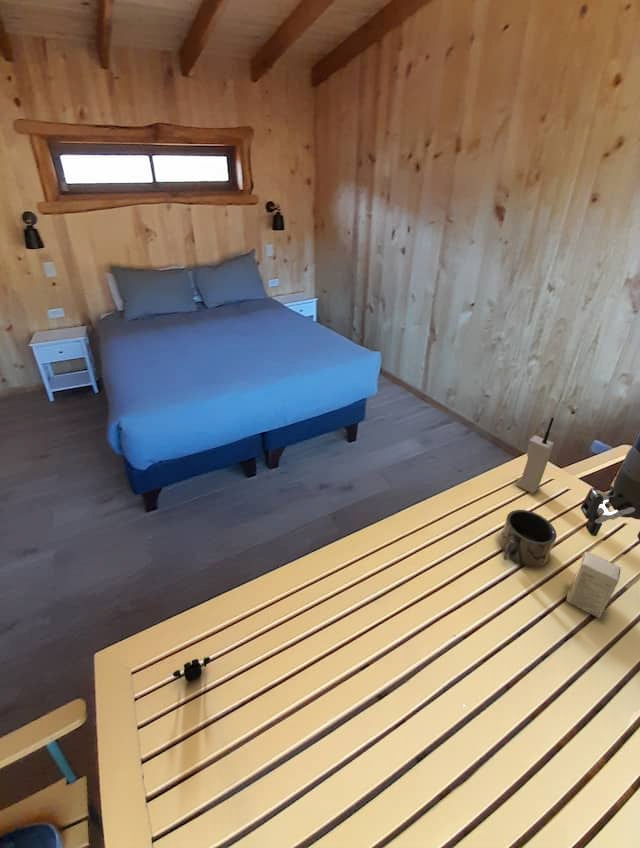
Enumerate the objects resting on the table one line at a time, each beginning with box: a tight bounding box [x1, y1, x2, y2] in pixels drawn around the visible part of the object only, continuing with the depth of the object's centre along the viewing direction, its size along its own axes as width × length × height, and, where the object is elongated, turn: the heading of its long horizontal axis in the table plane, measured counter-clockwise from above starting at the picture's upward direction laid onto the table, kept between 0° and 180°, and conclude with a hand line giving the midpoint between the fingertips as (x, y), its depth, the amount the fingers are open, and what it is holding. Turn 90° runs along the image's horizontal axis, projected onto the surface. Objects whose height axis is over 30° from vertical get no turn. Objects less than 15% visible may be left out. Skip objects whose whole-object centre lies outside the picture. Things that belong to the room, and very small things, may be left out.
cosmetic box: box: [566, 551, 621, 619], centre depth 85 cm, size 6×4×12 cm
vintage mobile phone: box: [515, 417, 555, 494], centre depth 114 cm, size 4×5×25 cm
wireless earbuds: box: [172, 656, 211, 682], centre depth 75 cm, size 7×2×5 cm, turn 113°
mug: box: [499, 509, 557, 568], centre depth 98 cm, size 14×10×8 cm
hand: (616, 536), depth 78 cm, fingers open, 8 cm apart
